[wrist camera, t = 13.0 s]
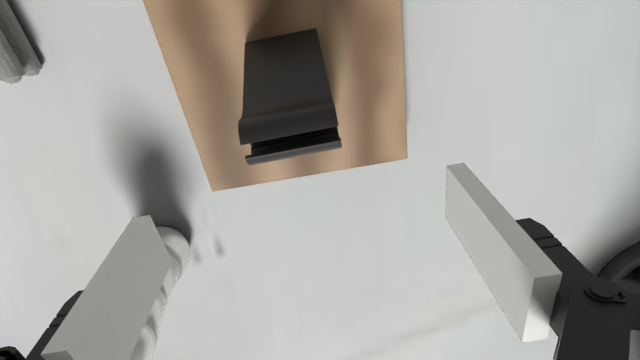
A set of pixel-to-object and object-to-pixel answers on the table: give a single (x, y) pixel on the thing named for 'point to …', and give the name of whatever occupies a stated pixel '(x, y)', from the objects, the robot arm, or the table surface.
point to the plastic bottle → (163, 291)
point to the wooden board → (340, 63)
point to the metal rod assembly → (15, 48)
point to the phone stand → (286, 99)
